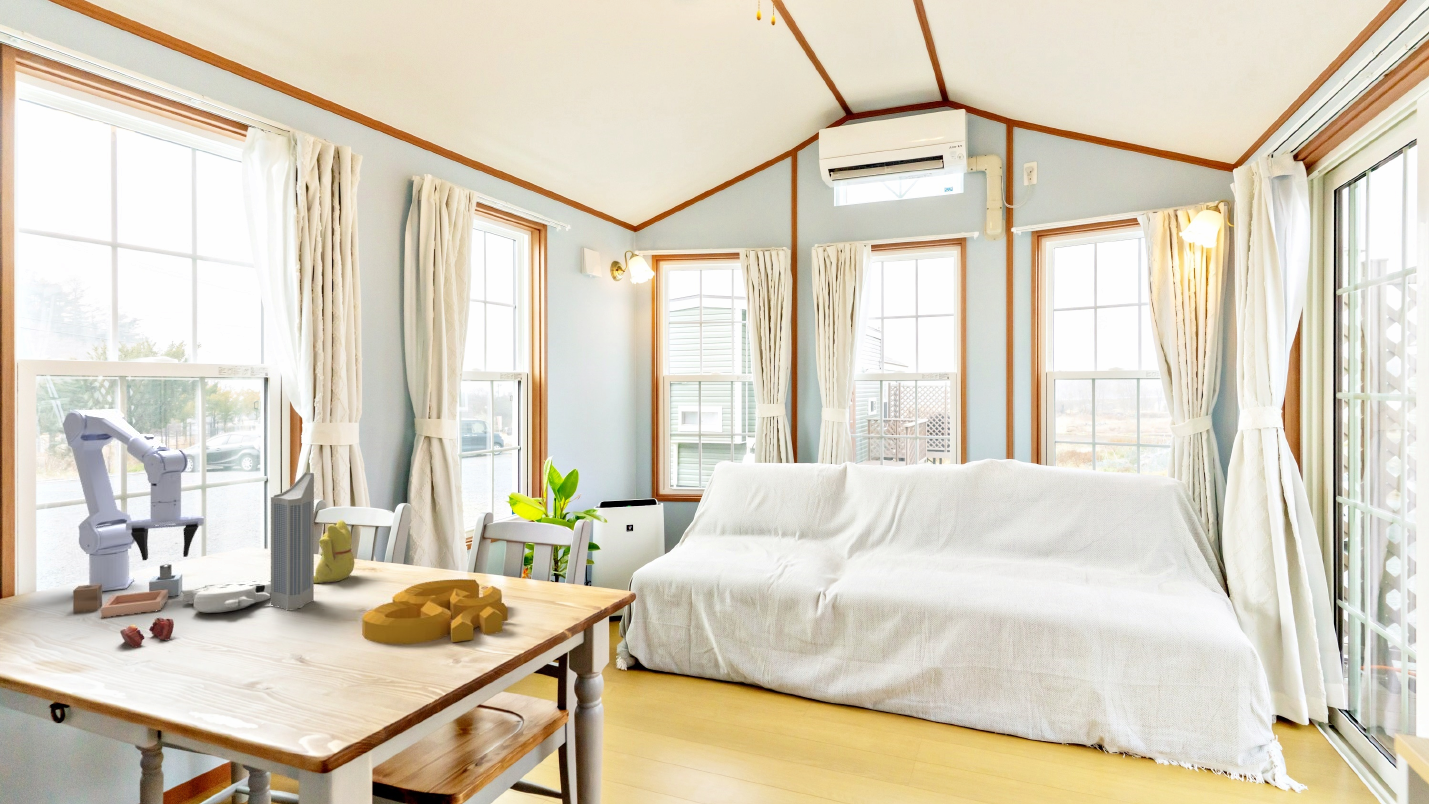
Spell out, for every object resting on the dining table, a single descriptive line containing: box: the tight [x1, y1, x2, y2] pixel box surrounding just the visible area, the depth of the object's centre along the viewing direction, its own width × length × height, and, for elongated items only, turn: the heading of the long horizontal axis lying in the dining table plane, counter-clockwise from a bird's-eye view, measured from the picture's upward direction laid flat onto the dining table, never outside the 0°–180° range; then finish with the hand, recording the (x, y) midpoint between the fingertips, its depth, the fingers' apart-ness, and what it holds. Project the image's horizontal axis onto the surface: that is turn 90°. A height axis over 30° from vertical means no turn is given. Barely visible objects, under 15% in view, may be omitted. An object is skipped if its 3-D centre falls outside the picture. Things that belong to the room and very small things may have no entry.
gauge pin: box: [159, 563, 173, 580], centre depth 165 cm, size 2×2×7 cm
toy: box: [182, 580, 271, 614], centre depth 159 cm, size 22×5×20 cm
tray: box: [100, 590, 169, 619], centre depth 155 cm, size 10×10×2 cm
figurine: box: [314, 519, 355, 584], centre depth 179 cm, size 11×9×15 cm
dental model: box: [119, 617, 175, 648], centre depth 136 cm, size 6×4×8 cm
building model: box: [270, 471, 315, 611], centre depth 159 cm, size 8×8×30 cm
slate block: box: [148, 573, 183, 597], centre depth 166 cm, size 6×6×4 cm
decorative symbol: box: [361, 578, 509, 645], centre depth 150 cm, size 30×5×30 cm
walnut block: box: [72, 584, 103, 614], centre depth 154 cm, size 4×4×5 cm
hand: (165, 557), depth 165 cm, fingers open, 7 cm apart
